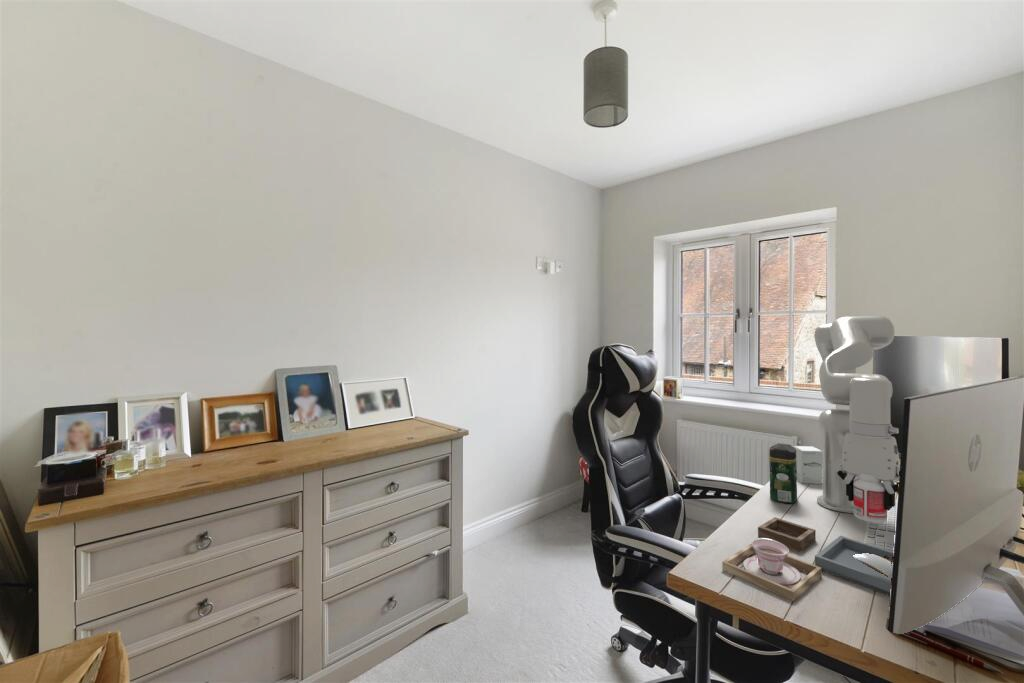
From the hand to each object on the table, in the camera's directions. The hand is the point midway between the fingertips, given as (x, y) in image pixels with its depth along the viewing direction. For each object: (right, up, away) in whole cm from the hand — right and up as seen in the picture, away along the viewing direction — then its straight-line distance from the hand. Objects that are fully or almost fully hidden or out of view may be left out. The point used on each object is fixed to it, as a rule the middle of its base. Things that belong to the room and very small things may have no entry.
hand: (869, 503), depth 103 cm
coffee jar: (+8, -16, +45) cm, 48 cm away
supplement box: (+27, -15, +62) cm, 69 cm away
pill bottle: (0, -4, 0) cm, 4 cm away
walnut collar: (-9, -16, +17) cm, 25 cm away
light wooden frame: (-23, -17, +1) cm, 29 cm away
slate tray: (0, -17, 0) cm, 17 cm away
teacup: (-23, -17, +2) cm, 29 cm away
